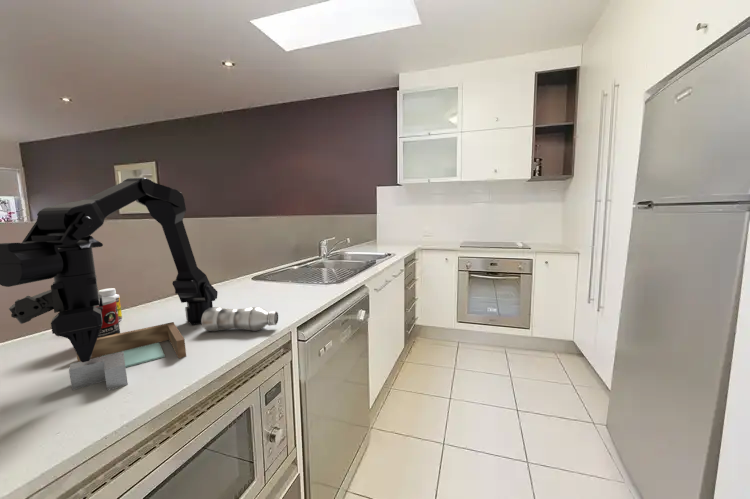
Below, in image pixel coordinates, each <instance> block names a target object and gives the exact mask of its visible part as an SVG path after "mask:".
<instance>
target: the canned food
mask: <svg viewBox="0 0 750 499" xmlns="http://www.w3.org/2000/svg"><path fill="white" fill-rule="evenodd" d="M102 300H103V306H101V307H103V310H102V327H101V330H100V332H99V335H98V338H100V337H105V336H109V335H114V334H119V333H121V329H120V321H119V319H118V311H117V304H116V299H115V298H114V297H102ZM94 307H99V305H96V306H94Z"/></svg>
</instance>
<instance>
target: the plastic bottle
mask: <svg viewBox="0 0 750 499" xmlns="http://www.w3.org/2000/svg"><path fill="white" fill-rule="evenodd" d="M278 323H279V313H278V311H271V310H270V311H267V310H266V309H264V308H263V307H259V306H254V307H247V308H223V307H218V306H213V307H212V308H208V309H207V310H205V311H204V313H203V315H202V319H201V323H200V324H201V326H202V328H203V329H204V330H205V331H209V332H218V331H223V330H224V331H225V330H245V331H253V332H257V331H261V330H262V329H264V328H265V327H266V326H269V327H271V326H277V324H278Z"/></svg>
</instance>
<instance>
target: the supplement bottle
mask: <svg viewBox="0 0 750 499" xmlns="http://www.w3.org/2000/svg"><path fill="white" fill-rule="evenodd" d="M98 294H100V295H102V297H114V298H115V299H116V304H117V311H118V319H119V322H121V321H122V320H123V314H122V306H121V305H122V304H121V298H120V294H117V291H116V288H114V287H113V288H112V287H110V288H103V289H100V290H99V289H98Z"/></svg>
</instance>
